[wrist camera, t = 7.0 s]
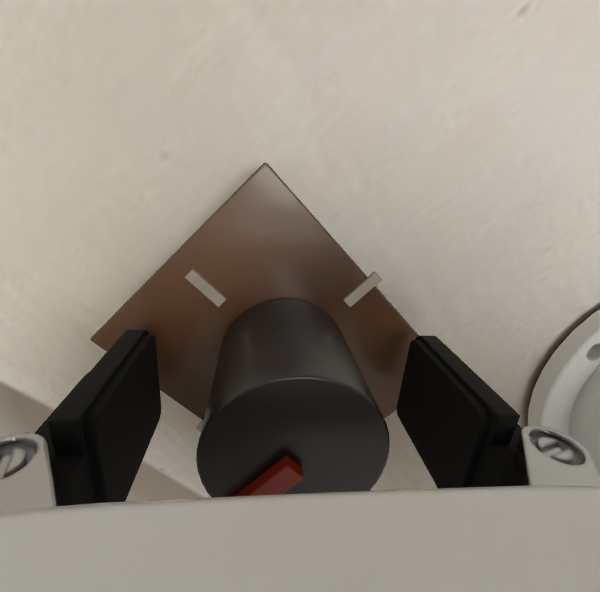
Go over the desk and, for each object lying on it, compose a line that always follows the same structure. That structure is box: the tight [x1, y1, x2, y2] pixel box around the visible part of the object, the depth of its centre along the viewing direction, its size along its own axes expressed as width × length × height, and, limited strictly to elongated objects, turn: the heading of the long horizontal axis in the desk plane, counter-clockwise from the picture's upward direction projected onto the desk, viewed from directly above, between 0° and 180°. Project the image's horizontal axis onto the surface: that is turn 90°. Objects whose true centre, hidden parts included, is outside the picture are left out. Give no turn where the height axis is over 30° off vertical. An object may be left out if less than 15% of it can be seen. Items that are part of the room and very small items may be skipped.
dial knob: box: [196, 299, 389, 498], centre depth 9 cm, size 4×4×5 cm
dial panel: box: [91, 163, 419, 431], centre depth 13 cm, size 10×9×3 cm
